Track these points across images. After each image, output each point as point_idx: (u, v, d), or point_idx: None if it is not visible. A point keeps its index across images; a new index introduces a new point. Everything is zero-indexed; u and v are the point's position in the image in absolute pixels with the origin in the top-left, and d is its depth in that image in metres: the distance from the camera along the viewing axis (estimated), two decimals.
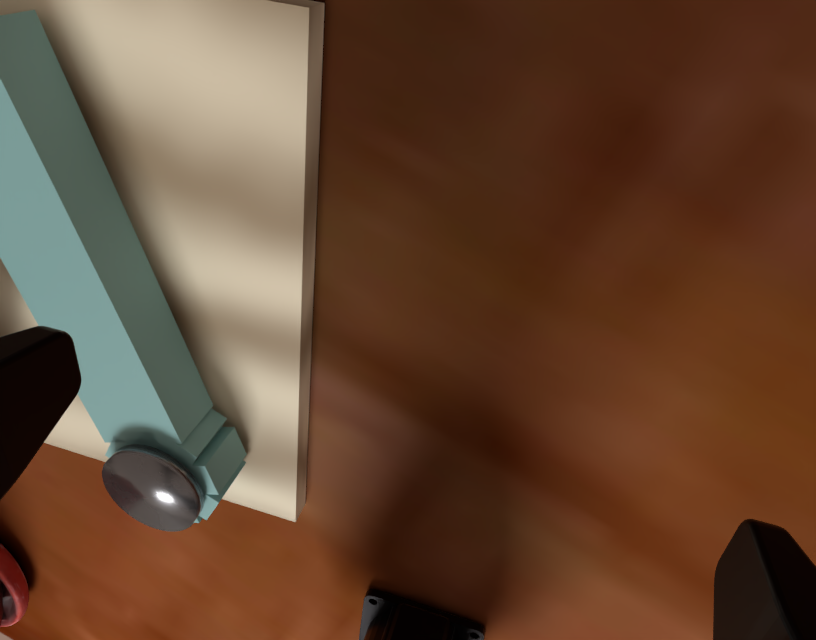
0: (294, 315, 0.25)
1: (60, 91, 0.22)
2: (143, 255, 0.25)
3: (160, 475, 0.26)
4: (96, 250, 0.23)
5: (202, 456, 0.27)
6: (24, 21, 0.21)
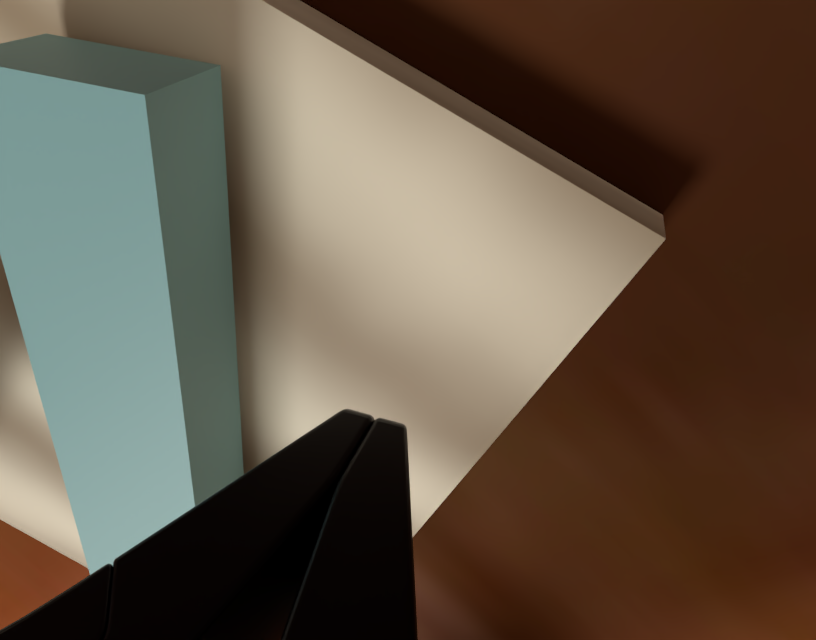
0: (414, 521, 0.19)
1: (216, 191, 0.14)
2: (237, 400, 0.18)
3: None
4: (195, 416, 0.15)
5: None
6: (205, 85, 0.13)
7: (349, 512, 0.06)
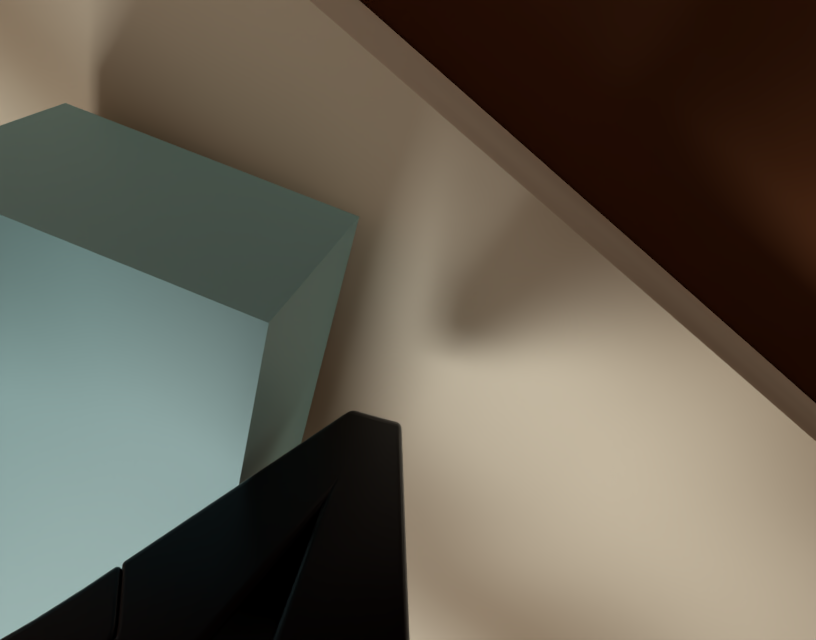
0: None
1: (308, 387, 0.09)
2: None
3: None
4: None
5: None
6: (337, 255, 0.08)
7: (343, 510, 0.06)
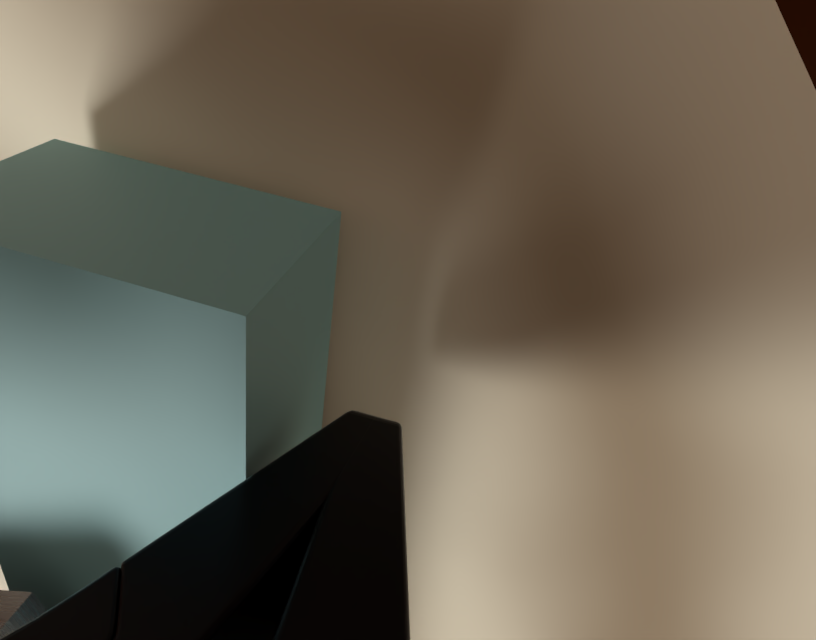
0: None
1: (315, 389, 0.09)
2: None
3: None
4: None
5: None
6: (322, 250, 0.08)
7: (343, 510, 0.06)
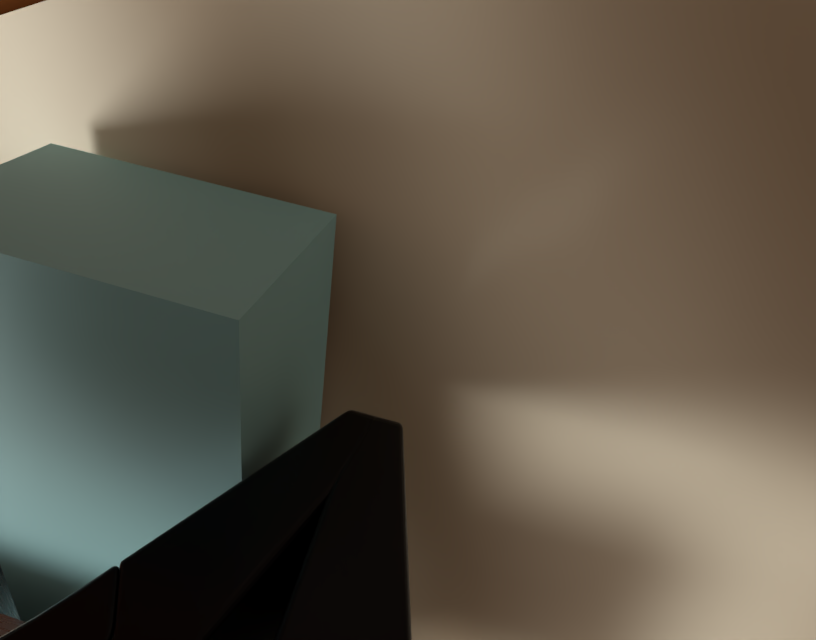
0: None
1: (312, 391, 0.09)
2: None
3: None
4: None
5: None
6: (317, 254, 0.08)
7: (344, 511, 0.06)
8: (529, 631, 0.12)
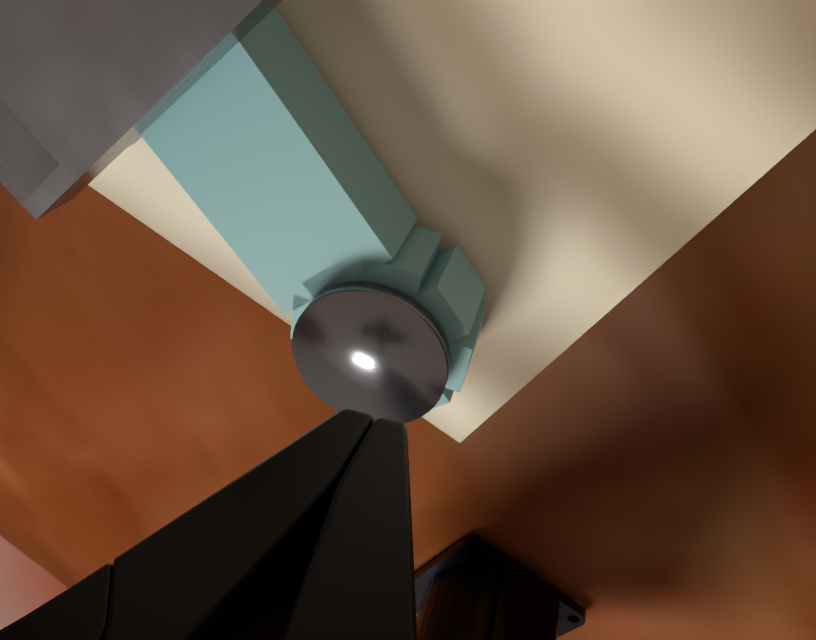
0: (723, 196, 0.17)
1: None
2: None
3: (415, 346, 0.17)
4: None
5: (427, 283, 0.18)
6: None
7: (349, 512, 0.06)
8: None
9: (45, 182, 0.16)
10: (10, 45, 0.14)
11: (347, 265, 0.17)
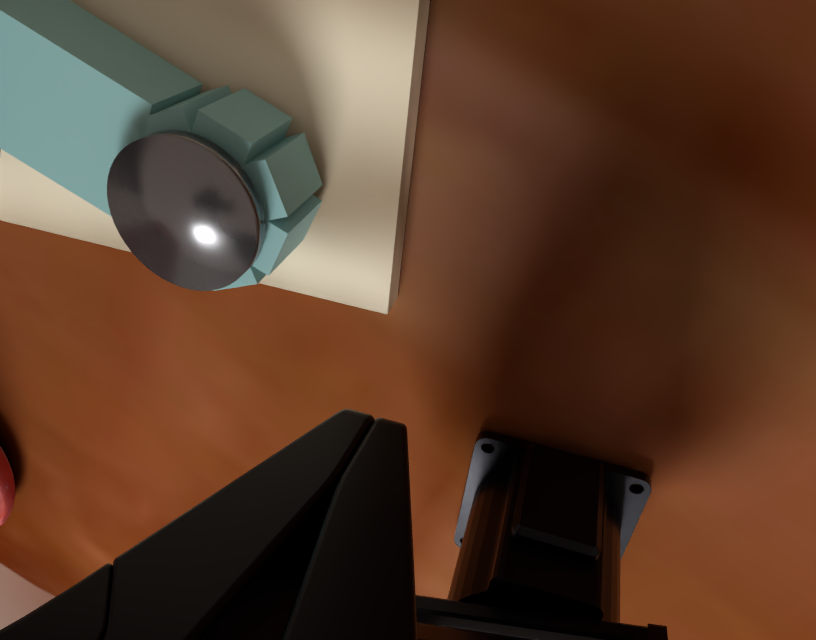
0: None
1: None
2: None
3: (199, 173, 0.17)
4: None
5: None
6: None
7: (349, 512, 0.06)
8: None
9: None
10: None
11: (128, 136, 0.18)
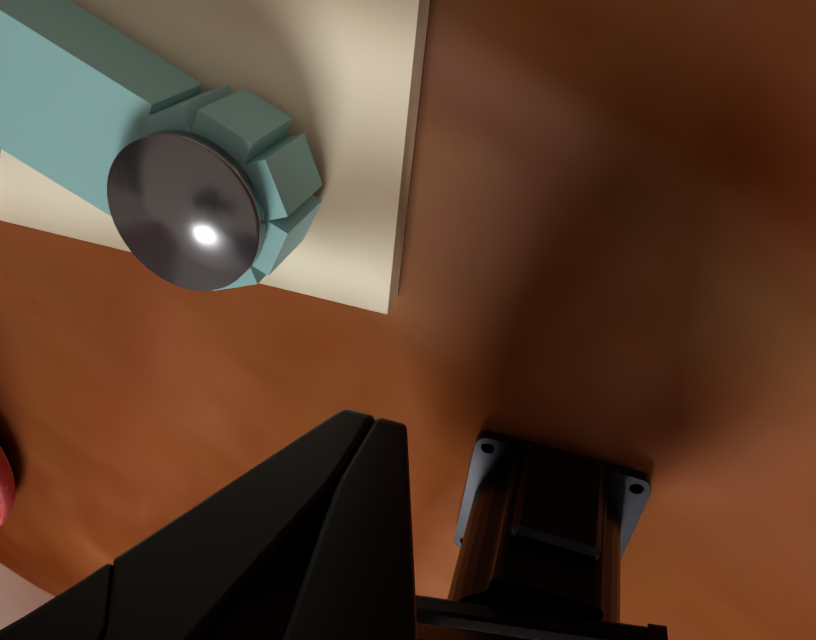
0: None
1: None
2: None
3: (199, 173, 0.17)
4: None
5: None
6: None
7: (349, 512, 0.06)
8: None
9: None
10: None
11: (127, 136, 0.18)
